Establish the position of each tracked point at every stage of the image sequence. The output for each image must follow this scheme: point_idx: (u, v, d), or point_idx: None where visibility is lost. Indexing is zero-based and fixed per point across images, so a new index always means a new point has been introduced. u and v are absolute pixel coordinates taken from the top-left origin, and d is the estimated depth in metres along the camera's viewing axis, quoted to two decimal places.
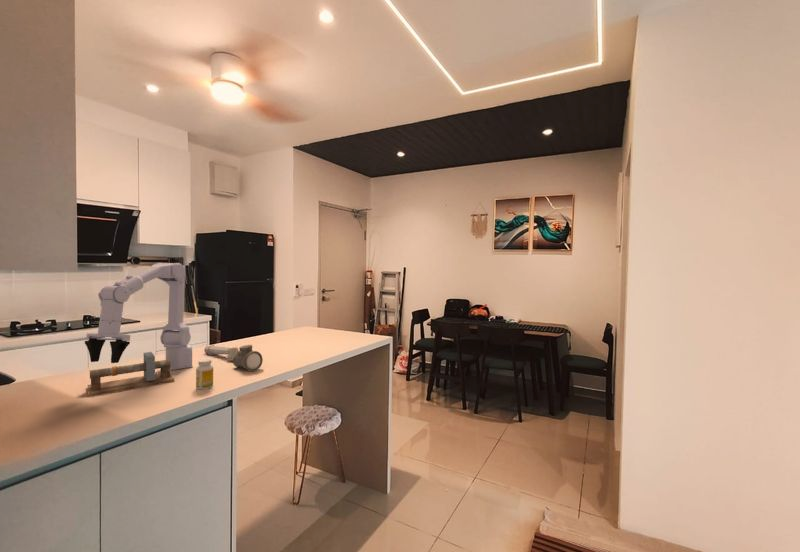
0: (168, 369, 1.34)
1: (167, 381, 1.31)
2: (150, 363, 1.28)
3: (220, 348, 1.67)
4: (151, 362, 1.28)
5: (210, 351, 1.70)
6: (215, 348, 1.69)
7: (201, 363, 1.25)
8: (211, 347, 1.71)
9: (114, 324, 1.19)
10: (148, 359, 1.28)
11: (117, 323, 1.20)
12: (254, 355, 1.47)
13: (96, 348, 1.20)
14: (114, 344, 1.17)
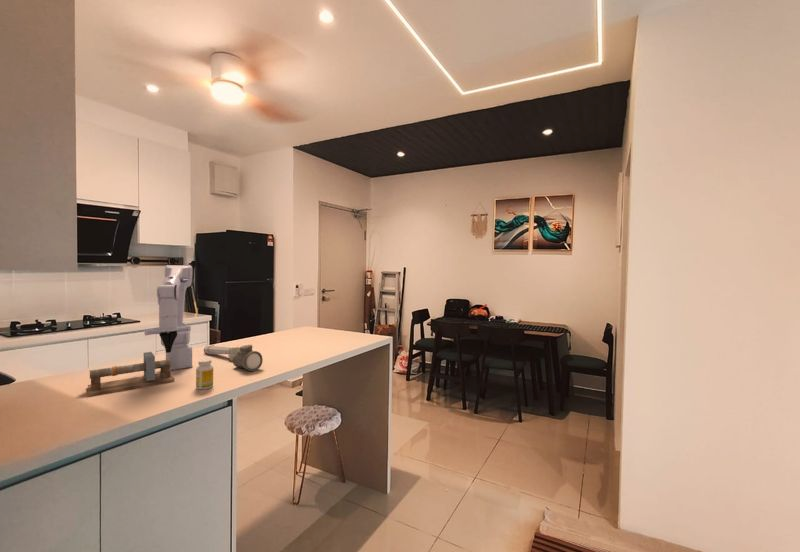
0: (168, 369, 1.34)
1: (167, 381, 1.31)
2: (150, 363, 1.28)
3: (221, 348, 1.67)
4: (151, 362, 1.28)
5: (210, 351, 1.70)
6: (215, 348, 1.69)
7: (201, 363, 1.25)
8: (211, 347, 1.71)
9: (176, 318, 1.36)
10: (148, 359, 1.28)
11: None
12: (254, 355, 1.47)
13: None
14: (174, 336, 1.34)
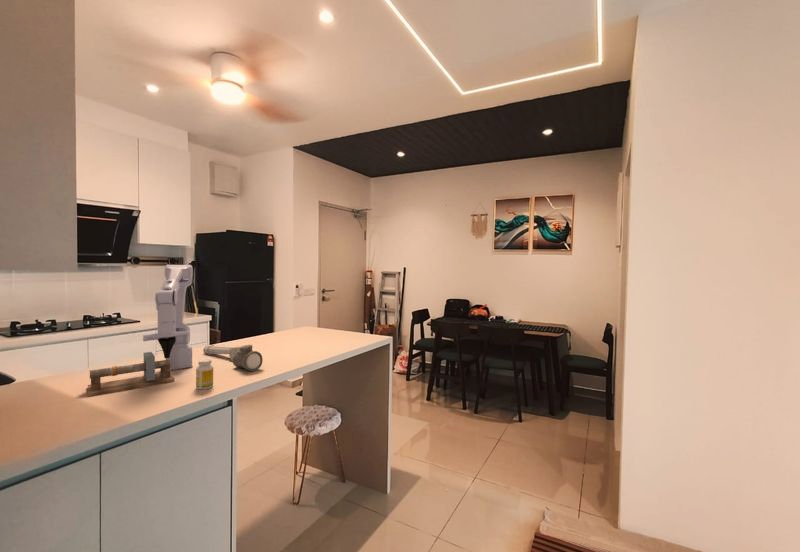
0: (168, 369, 1.34)
1: (167, 381, 1.31)
2: (150, 363, 1.28)
3: (221, 348, 1.67)
4: (151, 362, 1.28)
5: (210, 351, 1.70)
6: (215, 348, 1.69)
7: (201, 363, 1.25)
8: (211, 347, 1.71)
9: (175, 324, 1.36)
10: (148, 359, 1.28)
11: None
12: (254, 355, 1.47)
13: None
14: (173, 342, 1.34)
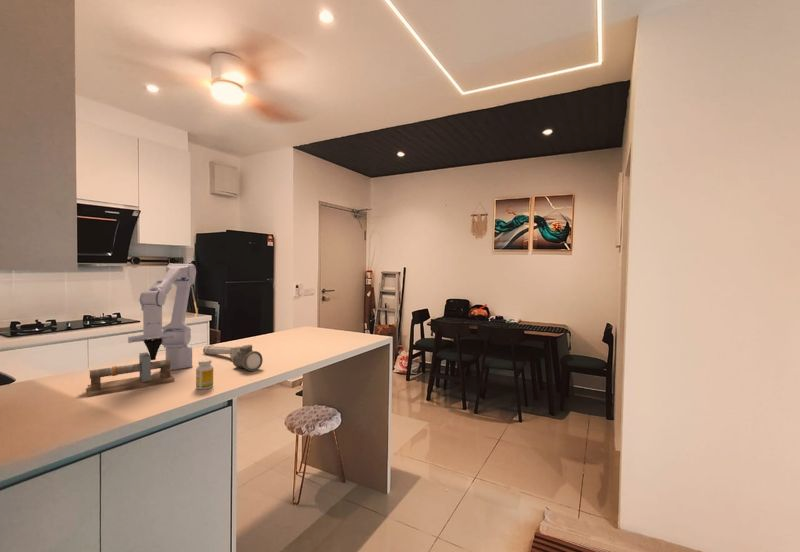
0: (168, 369, 1.34)
1: (167, 381, 1.31)
2: (146, 364, 1.27)
3: (221, 348, 1.67)
4: (147, 363, 1.28)
5: (210, 351, 1.70)
6: (215, 348, 1.69)
7: (201, 363, 1.25)
8: (211, 347, 1.71)
9: (161, 325, 1.33)
10: (144, 360, 1.27)
11: None
12: (254, 355, 1.47)
13: None
14: (159, 343, 1.31)
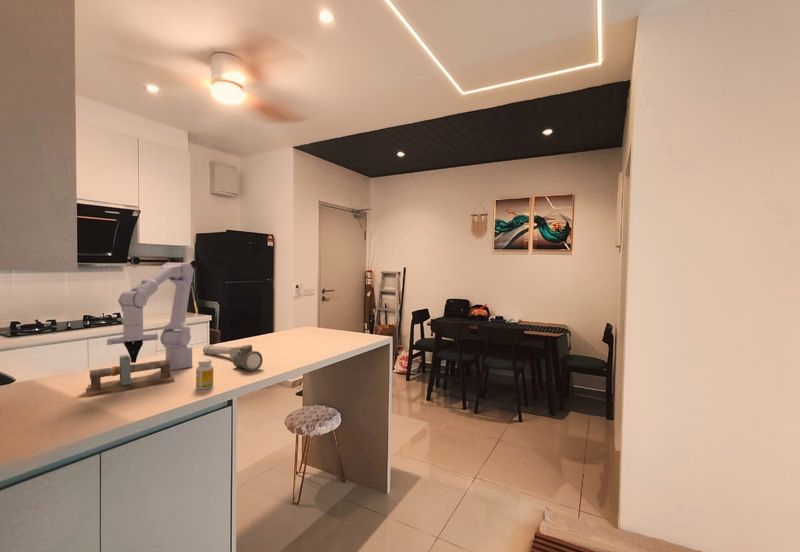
0: (168, 369, 1.34)
1: (167, 381, 1.31)
2: (125, 366, 1.23)
3: (221, 348, 1.67)
4: (126, 365, 1.24)
5: (210, 351, 1.70)
6: (215, 348, 1.69)
7: (201, 363, 1.25)
8: (211, 347, 1.71)
9: (142, 327, 1.29)
10: (123, 362, 1.23)
11: None
12: (254, 355, 1.47)
13: None
14: (140, 345, 1.27)
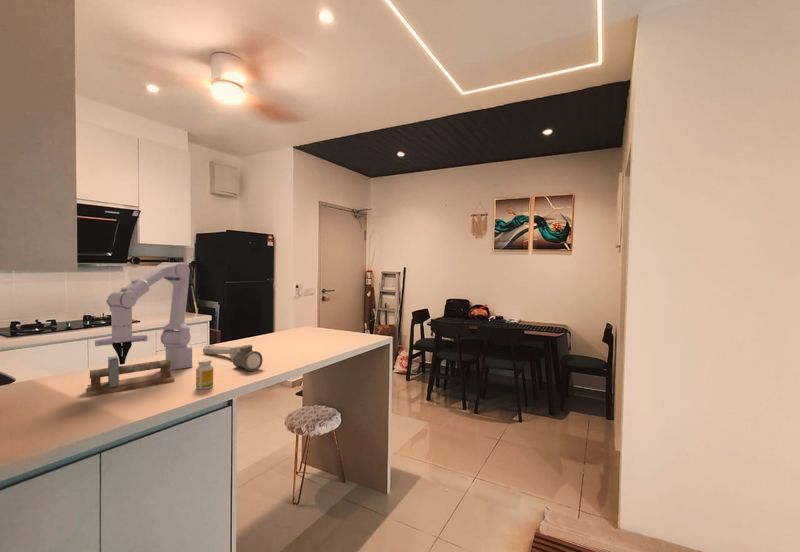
0: (168, 369, 1.34)
1: (167, 381, 1.31)
2: (113, 368, 1.21)
3: (221, 348, 1.67)
4: (114, 367, 1.22)
5: (210, 351, 1.70)
6: (215, 348, 1.69)
7: (201, 363, 1.25)
8: (210, 347, 1.71)
9: (131, 328, 1.27)
10: (111, 364, 1.21)
11: None
12: (254, 355, 1.47)
13: (121, 351, 1.26)
14: (128, 347, 1.25)
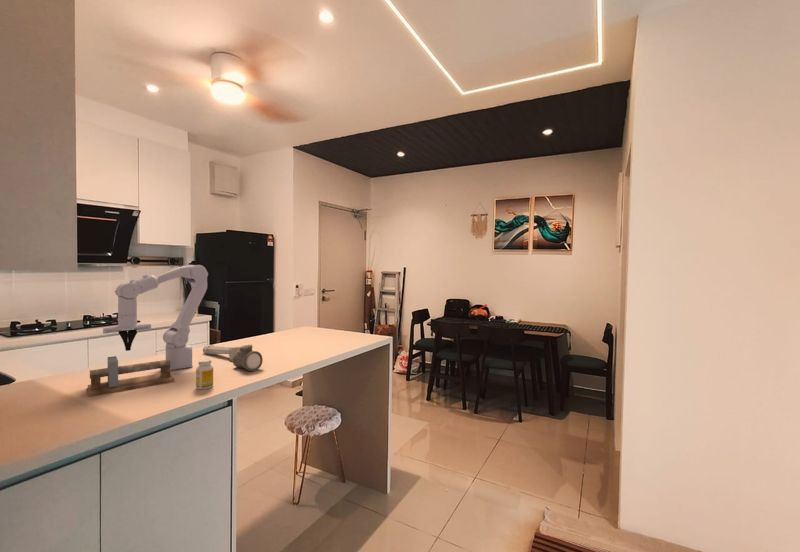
0: (168, 369, 1.34)
1: (167, 381, 1.31)
2: (113, 368, 1.21)
3: (220, 348, 1.67)
4: (114, 367, 1.21)
5: (209, 351, 1.70)
6: (215, 348, 1.69)
7: (201, 363, 1.25)
8: (210, 347, 1.71)
9: (136, 317, 1.37)
10: (110, 364, 1.21)
11: (136, 316, 1.38)
12: (254, 355, 1.47)
13: None
14: (134, 334, 1.36)
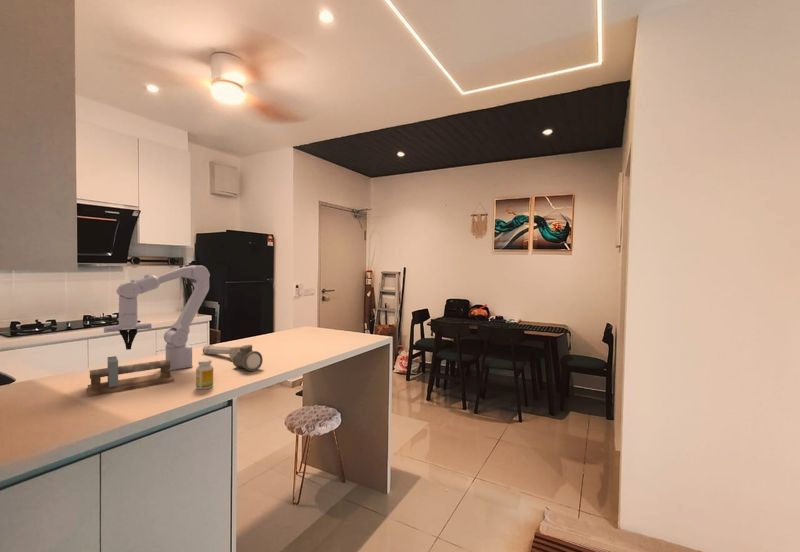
0: (168, 369, 1.34)
1: (167, 381, 1.31)
2: (113, 368, 1.21)
3: (221, 348, 1.67)
4: (114, 367, 1.21)
5: (209, 351, 1.70)
6: (215, 348, 1.69)
7: (201, 363, 1.25)
8: (210, 347, 1.71)
9: (137, 316, 1.38)
10: (110, 364, 1.21)
11: None
12: (254, 355, 1.47)
13: None
14: (134, 333, 1.37)
